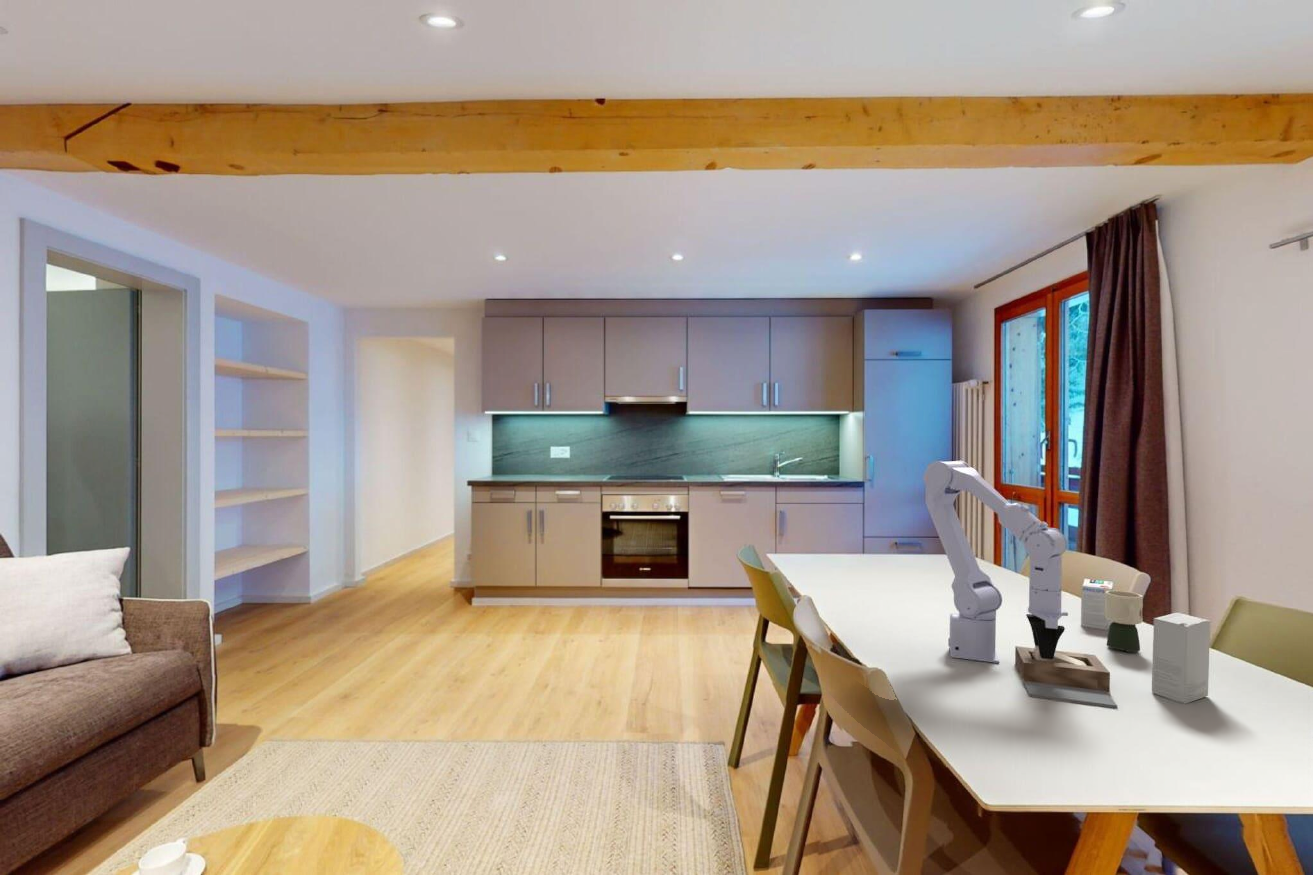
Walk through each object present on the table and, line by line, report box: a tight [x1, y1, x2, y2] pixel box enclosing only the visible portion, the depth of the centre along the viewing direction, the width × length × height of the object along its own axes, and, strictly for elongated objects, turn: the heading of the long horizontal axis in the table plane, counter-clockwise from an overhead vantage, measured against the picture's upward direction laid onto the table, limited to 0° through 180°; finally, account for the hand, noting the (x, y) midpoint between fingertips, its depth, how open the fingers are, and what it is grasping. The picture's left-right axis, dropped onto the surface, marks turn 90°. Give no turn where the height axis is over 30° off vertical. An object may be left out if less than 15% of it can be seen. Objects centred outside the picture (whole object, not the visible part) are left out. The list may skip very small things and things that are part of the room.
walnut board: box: [1014, 645, 1111, 693], centre depth 134 cm, size 15×11×4 cm
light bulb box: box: [1080, 578, 1114, 631], centre depth 174 cm, size 11×7×11 cm, turn 144°
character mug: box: [1105, 589, 1144, 653], centre depth 152 cm, size 11×7×13 cm, turn 163°
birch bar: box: [1033, 644, 1087, 666], centre depth 134 cm, size 9×4×2 cm, turn 69°
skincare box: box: [1151, 612, 1211, 705], centre depth 125 cm, size 8×6×15 cm
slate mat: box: [1022, 680, 1118, 709], centre depth 125 cm, size 14×7×1 cm, turn 69°
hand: (1044, 654), depth 135 cm, fingers closed on birch bar, 4 cm apart
